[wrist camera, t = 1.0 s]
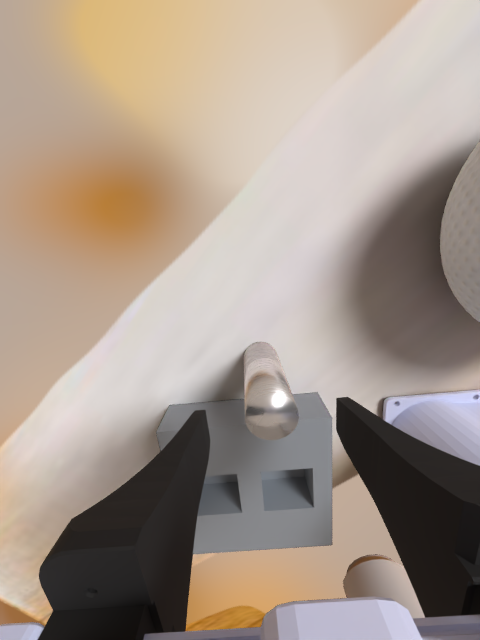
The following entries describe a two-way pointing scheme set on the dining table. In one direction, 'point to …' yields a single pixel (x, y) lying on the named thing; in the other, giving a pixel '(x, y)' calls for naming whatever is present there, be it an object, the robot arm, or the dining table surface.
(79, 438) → the dining table surface
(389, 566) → the can
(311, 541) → the hole block
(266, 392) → the pin
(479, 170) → the cereal bowl
